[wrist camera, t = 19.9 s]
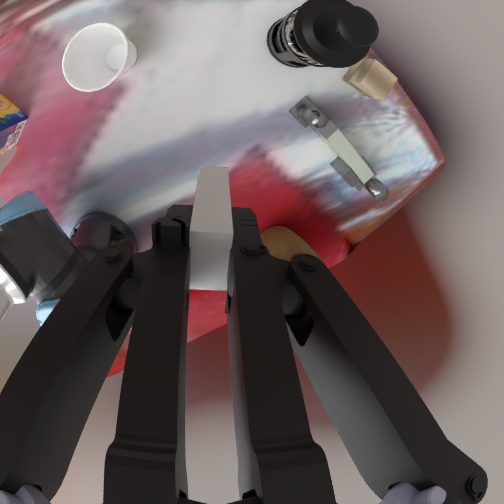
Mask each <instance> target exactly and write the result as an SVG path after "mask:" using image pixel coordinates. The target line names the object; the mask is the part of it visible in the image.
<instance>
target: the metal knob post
mask: <svg viewBox="0 0 504 504" xmlns="http://www.w3.org/2000/svg"><path fill="white" fill-rule="evenodd" d="M361 158H362V159H363V160H364V162H365V163H366V164H367V166H368V167H369V168H370V170H371V171H372V172H373V174H374V176H373V177H372V178H370V179H369V180H368V181H367V182H366V183H365V184H364V183H363V182H361V181H360V179H359V178H358V177H357V176H356V174H355V173H354V172H353V171H352V170H351V168H350V167H348V166H347V165H346V164H345V163H344V162H343V161H342V160H341V159H340V158H338V157H337V158H336V159H335V160H334V161H333V162H332V163H331V166H332V167H333V168H334V169H335V170H336V171H337V172H338V173H339V174H340V175H341V176H342V178H343V179H344V180H345V181H346V182H347V183H348V184H349V185H350V186H351V187H353V186H355V187H356V188H357V189H358V190H359V191H360V190H361V189H362V188H363V187H365V188H366V189H367V190H368V191H369V192H370V193H371V194H372V195H373V196H374V197H375V199H376V200H378V201H383V200H385V199H386V198H387V197H388V194H389V190H388V188H387V187H386V186H384V185H383V184H382V183H381V182H380V181H379V180H378V179H377V178H376V177H375V176H376V175H377V174H376V173H375V172H374V170H373V169H372V168H371V166H370V165H369V164H368V162H367V161H366V160H365V158H364V157H361Z"/></svg>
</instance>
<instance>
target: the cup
mask: <svg viewBox="0 0 504 504" xmlns="http://www.w3.org/2000/svg"><path fill="white" fill-rule="evenodd" d="M136 59H137V49H136V47H135V46H134V44H133V43H132V42H131V41H130V40H129V39H128V38H127V37H126V35H125V33H124V32H123V31H122V29H120V28H119V27H118V26H116V25H114V24H112V23H107V22H99V23H94V24H91V25H89V26H86V27H85V28H83V29H82V30H80V31H79V32H78V33H77V34H76V35H74V37H73V38H72V39H71V40H70V42H69V43H68V45H67V47H66V49H65V52H64V55H63V60H62V69H63V74H64V76H65V79H66V80H67V82H68V83H69V84H70V85H71V86H72V87H73V88H75V89H77V90H80V91H84V92H92V91H97V90H100V89H103V88H104V87H106V86H108V85H109V84H111V83H112V82H113V81H114V80H115V79H116V78H117V77H119V76H120V75H122V74H124V73H125V72H127V71H128V70H130V69H131V68H132V67H133V65H134V64H135V62H136Z"/></svg>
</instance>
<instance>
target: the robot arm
mask: <svg viewBox="0 0 504 504" xmlns="http://www.w3.org/2000/svg"><path fill="white" fill-rule="evenodd" d="M152 241H153V246H152V248H151V249H150V250H147V251H144V252H140V253H137V245H136V240H135V238H134V235H133V233H132V232H131V230H130V229H129V228H128V227H127V225H126V224H124V223H123V222H122V221H121V220H119V219H118V218H116V217H114V216H112V215H109V214H105V213H91V214H88V215H85V216H84V217H82V218H81V219H80V220H79V221H78V222H77V224H76V225H75V227H74V228H73V230H72V232H71V235H70V239H69V238H68V236H67V235H66V234H65V233H64V231H63V230H62V228H61V227H60V226H59V224H58V223H57V222H56V220H55V219H54V218H53V216H52V215H51V213H50V212H49V210H48V207H47V206H45V205H44V204H43V203H42V201H41V200H40V199H39V197H38V196H37V195H36V194H35V193H34V192H32V191H25V192H23V193H21V194H19V195H18V196H16V197H15V198H13V199H12V200H11V201H9V202H8V203H6V204H5V205H4V206H3V207H2V208H0V322H1V320H2V319H3V317H4V316H5V314H6V312H7V311H8V309H9V308H10V306H11V305H12V304H17V303H24V302H25V300H26V299H27V298H28V296H31V298H32V299H33V300H34V301H35V302H36V303H37V304H38V306H37V309H36V310H37V312H36V316H37V319H38V321H39V323H40V325H41V327H40V329H39V330H38V332H37V333H36V335H35V336H34V338H33V339H32V341H31V342H30V344H29V345H28V347H27V348H26V350H25V352H24V353H23V355H22V356H21V358H20V360H19V361H18V363H17V365H16V366H15V368H14V370H13V371H12V373H11V375H10V377H9V379H8V380H7V382H6V384H5V386H4V388H3V390H2V392H1V394H0V504H51V503H50V501H51V499H52V498H53V497H54V496H55V494H56V493H57V491H58V489H59V488H60V486H61V484H62V482H63V479H64V477H65V475H66V472H67V470H68V467H69V464H70V462H71V459H72V456H73V454H74V451H75V448H76V446H77V443H78V441H79V438H80V436H81V433H82V431H83V428H84V426H85V423H86V421H87V419H88V416H89V414H90V412H91V409H92V407H93V405H94V403H95V400H96V398H97V396H98V393H99V391H100V389H101V387H102V385H103V383H104V381H105V379H106V376H107V374H108V372H109V370H110V368H111V366H112V364H113V362H114V360H115V358H116V356H117V354H118V352H119V350H120V348H121V346H122V344H123V342H124V340H125V338H126V336H127V334H128V332H129V330H130V328H131V326H132V330H131V335H130V340H129V345H128V350H127V356H126V361H125V367H124V373H123V379H122V386H121V393H120V400H119V408H118V416H117V425H116V434H115V439H114V441H113V442H112V444H111V445H110V446H109V447H108V450H107V452H106V458H105V469H104V495H103V496H104V497H103V503H102V504H206V503H201V502H197V501H193V500H189V499H188V484H187V472H186V462H185V461H186V460H185V375H186V374H185V373H186V347H187V328H188V311H189V289H200V290H223V291H227V290H228V291H227V299H226V308H225V313H227V321H228V338H229V355H230V370H231V383H232V397H233V410H234V421H235V433H236V445H237V456H238V486H239V496H240V501H235V502H232V503H228V504H337V503H336V500H335V495H334V490H333V485H332V481H331V476H330V471H329V467H328V462H327V459H326V455H325V453H324V451H323V449H322V448H321V446H319V445H318V444H317V443H315V442H314V440H313V439H312V435H311V432H310V427H309V422H308V418H307V413H306V408H305V404H304V399H303V394H302V390H301V386H300V381H299V376H298V372H297V368H296V363H295V359H294V355H293V350H292V347H293V349H294V351H295V353H296V355H297V356H298V358H299V360H300V362H301V364H302V366H303V368H304V370H305V372H306V374H307V375H308V377H309V379H310V381H311V383H312V385H313V387H314V389H315V390H316V392H317V394H318V396H319V398H320V400H321V402H322V404H323V406H324V407H325V409H326V411H327V413H328V415H329V417H330V419H331V421H332V422H333V424H334V426H335V428H336V430H337V432H338V434H339V435H340V437H341V439H342V441H343V443H344V445H345V447H346V448H347V450H348V452H349V454H350V456H351V457H352V460H353V461H354V463H355V465H356V466H357V469H358V471H359V472H360V474H361V476H362V477H363V479H364V480H365V482H366V484H367V485H368V486H369V487H370V488H371V490H372V491H374V493H375V494H376V495H377V496H378V497H379V498H380V499H382V502H381V503H379V504H477V503H479V502H480V501H481V500H482V498H483V497H484V495H485V493H486V489H487V484H488V483H487V482H488V479H487V475H486V472H485V471H484V470H483V468H481V467H480V466H479V465H478V464H477V463H476V462H474V461H473V460H472V459H471V458H469V457H468V456H467V455H466V454H464V453H463V452H462V451H461V450H460V449H458V448H457V447H456V446H455V445H453V444H452V443H451V442H450V441H448V440H447V438H446V437H445V435H444V433H443V432H442V430H441V428H440V427H439V425H438V424H437V422H436V420H435V419H434V417H433V416H432V414H431V413H430V411H429V409H428V408H427V406H426V405H425V403H424V402H423V400H422V398H421V397H420V395H419V394H418V392H417V391H416V389H415V388H414V386H413V385H412V383H411V382H410V381H409V379H408V377H407V376H406V374H405V373H404V372H403V370H402V369H401V367H400V366H399V364H398V363H397V361H396V360H395V358H394V357H393V356H392V354H391V353H390V351H389V350H388V349H387V347H386V346H385V344H384V343H383V341H382V340H381V339H380V338H379V336H378V334H377V333H376V332H375V330H374V329H373V328H372V326H371V325H370V323H369V322H368V321H367V319H366V318H365V317H364V315H363V314H362V313H361V311H360V310H359V309H358V307H357V306H356V305H355V303H354V302H353V301H352V299H351V298H350V297H349V295H348V294H347V293H346V291H345V290H344V289H343V287H342V286H341V285H340V284H339V282H338V281H337V280H336V278H335V277H334V276H333V274H332V273H331V272H330V271H329V269H328V268H327V267H326V265H325V264H324V263H323V262H322V261H321V260H320V259H319V258H317V257H315V256H313V255H310V254H306V253H299V254H295V255H294V256H292V257H291V259H290V261H287V260H283V259H279V258H277V257H274V256H272V255H270V253H269V250H268V248H267V246H265V245H264V244H263V243H262V240H261V236H260V231H259V227H258V223H257V218H256V214H255V213H254V212H253V211H252V210H251V209H250V208H240V207H231V200H230V188H229V176H228V167H214V166H200V170H199V176H198V182H197V187H196V193H195V199H194V205H175V204H174V205H172V206H171V207H170V208H169V209H168V210H167V213H166V217H162V218H159V219H157V220H156V221H154V222H153V224H152ZM132 324H133V325H132Z"/></svg>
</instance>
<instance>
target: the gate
mask: <svg viewBox="0 0 504 504" xmlns="http://www.w3.org/2000/svg"><path fill="white" fill-rule="evenodd" d="M327 118H328V117H327ZM308 124H309V125H310V126H311V127H312V128H313V129H314V130H315V131H316V132H317V133H318V134H319V135H320V136H321V137H322V138H323V139H324V140H325V142H326V143H327V144H328V145H329V146H330V147H331V148H332V149H333V151H334V152H335V153H336V154H337V155H338V156H339V158H340V159H341V160H342V161H343V162H344V163H345V164H346V165H347V166H348V167H350V168H351V170H352V171H353V172H354V173H355V174H356V176H357V177H358V178H359V179H360V181H361V182H363V183H364V184H365V183H366V182H367V181H368V180H369V179H370V178H372V177H373V176H374V174H373V172H372V171H371V170H370V168H369V167H368V166H367V164H366V163H365V162H364V160H363V159H362V158H361V157H360V155H359V154H358V153H357V151H356V150H355V149H354V148H353V146H352V145H351V144H350V143H349V141H348V140H347V139H346V138H345V137H344V135H343V134H342V133H341V132H340V131H339V128H338V127H337V126H336V125H335V124H334V122H333V121H332V120H331V119H329V118H328V123H327V125H326V126H325V127H324V128H316V127H315V126H313V125H312V124H310V123H309V122H308Z"/></svg>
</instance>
